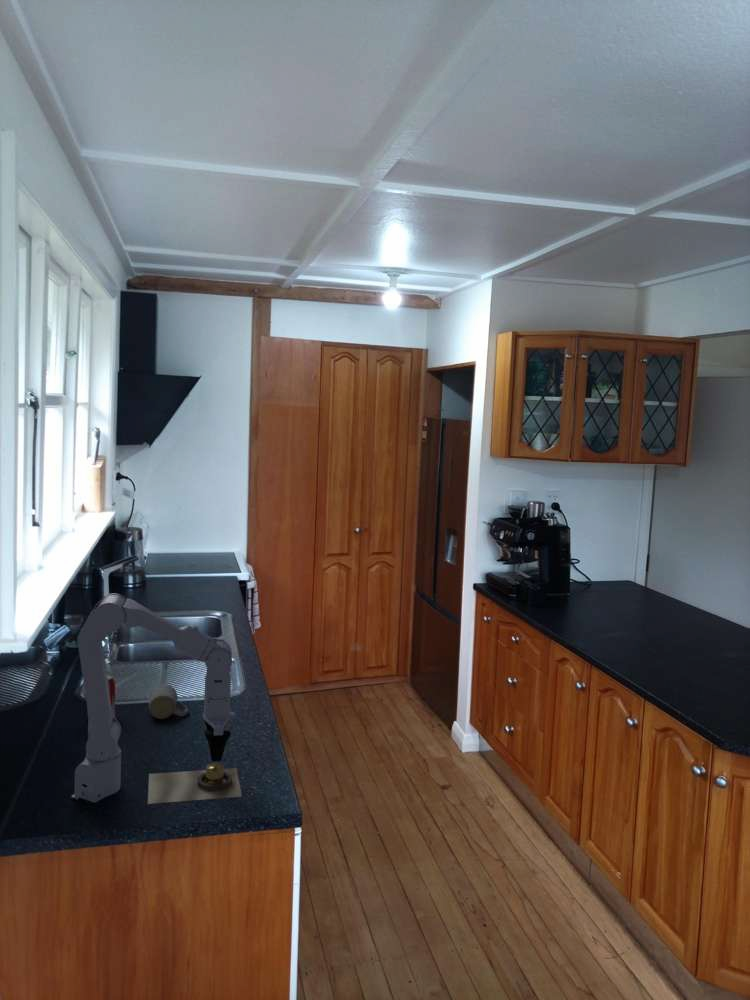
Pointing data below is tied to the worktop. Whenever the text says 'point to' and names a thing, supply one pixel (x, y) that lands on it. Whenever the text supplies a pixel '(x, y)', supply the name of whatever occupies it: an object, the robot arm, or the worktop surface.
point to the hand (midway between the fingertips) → (215, 753)
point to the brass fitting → (214, 773)
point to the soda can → (111, 691)
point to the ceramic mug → (165, 702)
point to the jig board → (191, 786)
